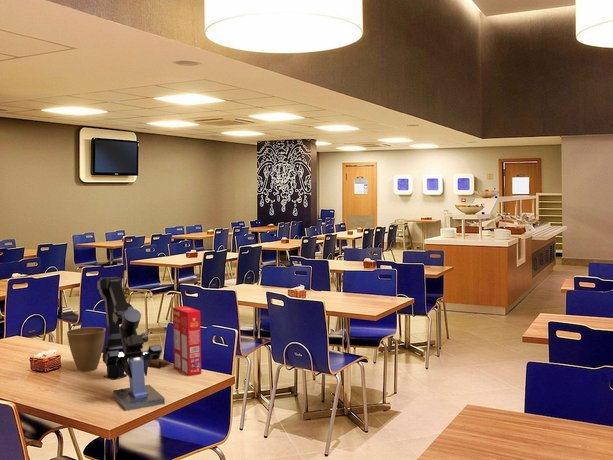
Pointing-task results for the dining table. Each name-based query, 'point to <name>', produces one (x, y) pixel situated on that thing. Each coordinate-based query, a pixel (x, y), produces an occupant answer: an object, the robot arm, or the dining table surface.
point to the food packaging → (187, 340)
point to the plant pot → (86, 346)
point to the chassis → (132, 403)
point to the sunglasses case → (158, 363)
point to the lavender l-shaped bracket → (137, 378)
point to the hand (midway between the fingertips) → (138, 376)
